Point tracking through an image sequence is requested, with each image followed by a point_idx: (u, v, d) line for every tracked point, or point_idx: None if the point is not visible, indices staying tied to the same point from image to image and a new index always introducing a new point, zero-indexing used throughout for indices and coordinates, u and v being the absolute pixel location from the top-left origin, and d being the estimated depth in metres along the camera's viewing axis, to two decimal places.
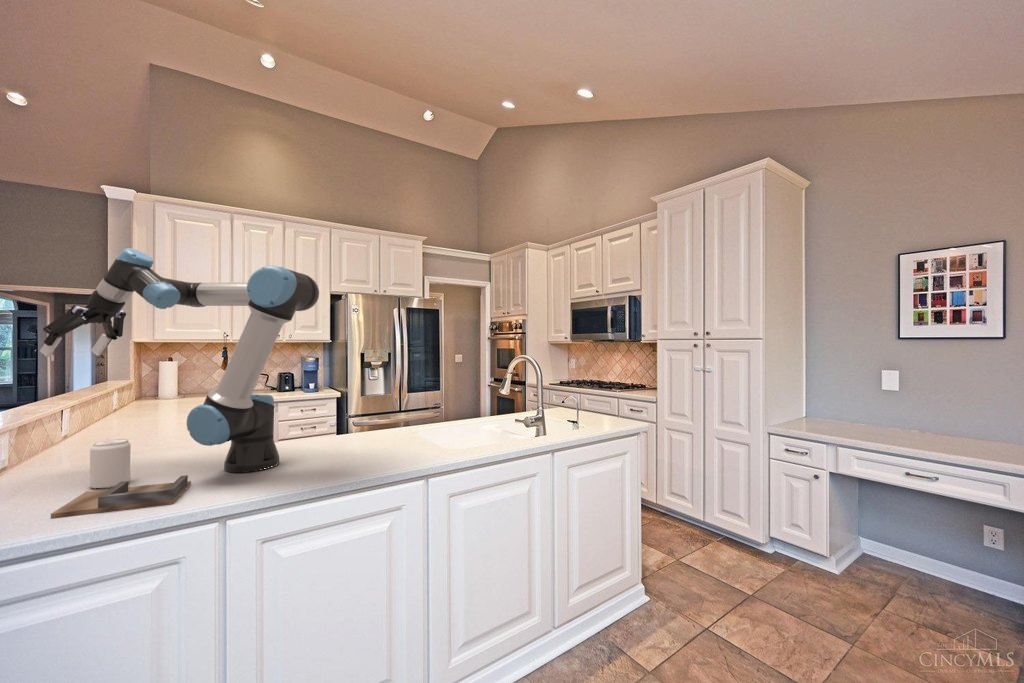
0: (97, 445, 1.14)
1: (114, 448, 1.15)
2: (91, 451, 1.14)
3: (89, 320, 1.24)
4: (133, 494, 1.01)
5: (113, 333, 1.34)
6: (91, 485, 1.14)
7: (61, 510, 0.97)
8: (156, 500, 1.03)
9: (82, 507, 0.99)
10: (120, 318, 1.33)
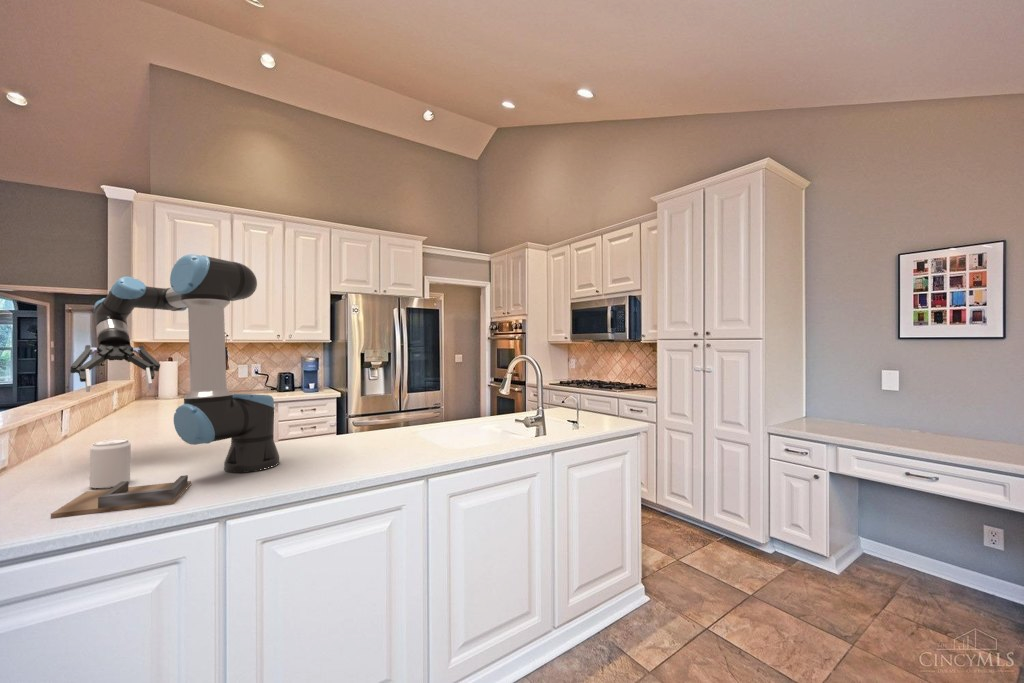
0: (97, 445, 1.14)
1: (114, 448, 1.15)
2: (91, 451, 1.14)
3: (103, 351, 1.31)
4: (133, 494, 1.01)
5: (147, 363, 1.36)
6: (91, 485, 1.14)
7: (61, 510, 0.97)
8: (156, 500, 1.03)
9: (82, 507, 0.99)
10: (140, 350, 1.38)
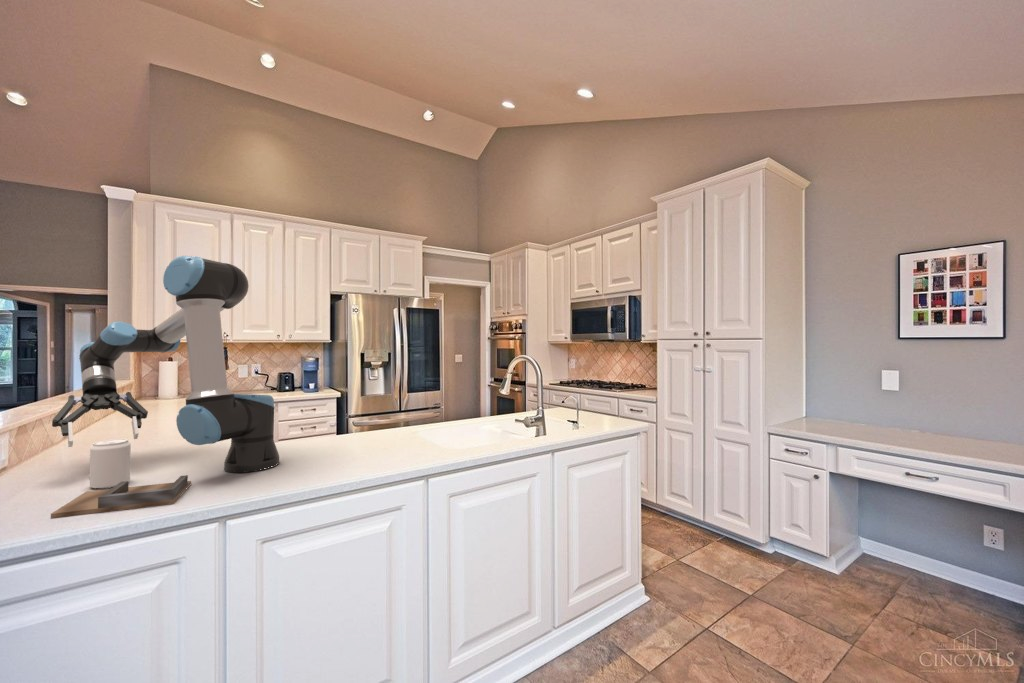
0: (97, 445, 1.14)
1: (114, 448, 1.15)
2: (91, 451, 1.14)
3: (87, 401, 1.25)
4: (133, 494, 1.01)
5: (134, 411, 1.31)
6: (91, 485, 1.14)
7: (61, 510, 0.97)
8: (156, 500, 1.03)
9: (82, 507, 0.99)
10: (127, 397, 1.33)
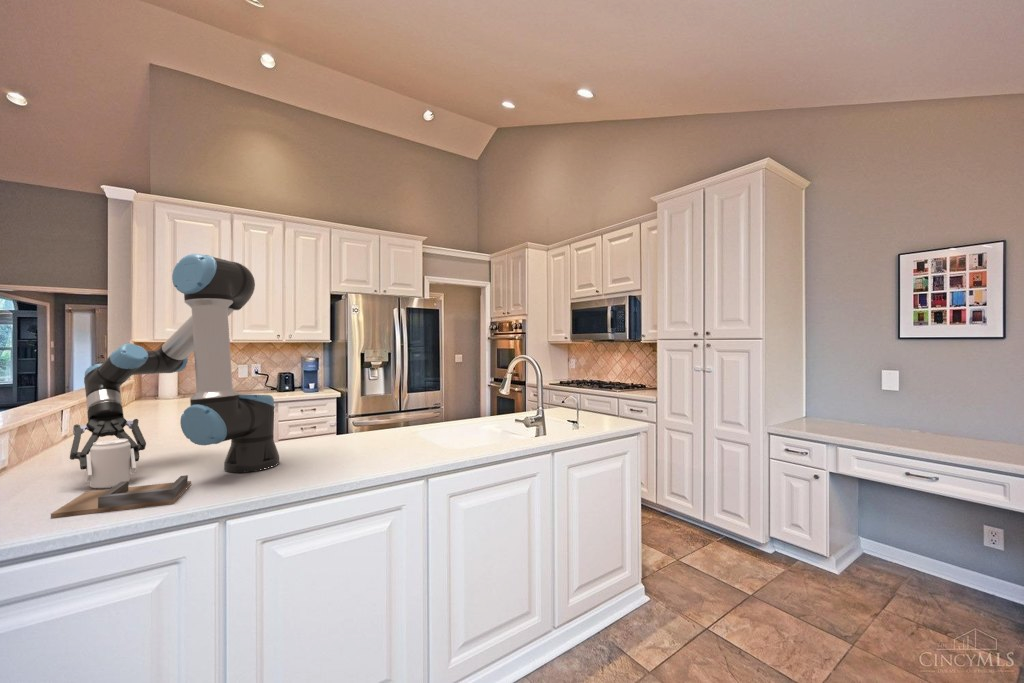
0: (97, 445, 1.14)
1: (114, 448, 1.15)
2: (91, 451, 1.14)
3: (96, 429, 1.20)
4: (133, 494, 1.01)
5: (133, 442, 1.23)
6: (91, 485, 1.14)
7: (61, 510, 0.97)
8: (156, 500, 1.03)
9: (82, 507, 0.99)
10: (133, 424, 1.26)
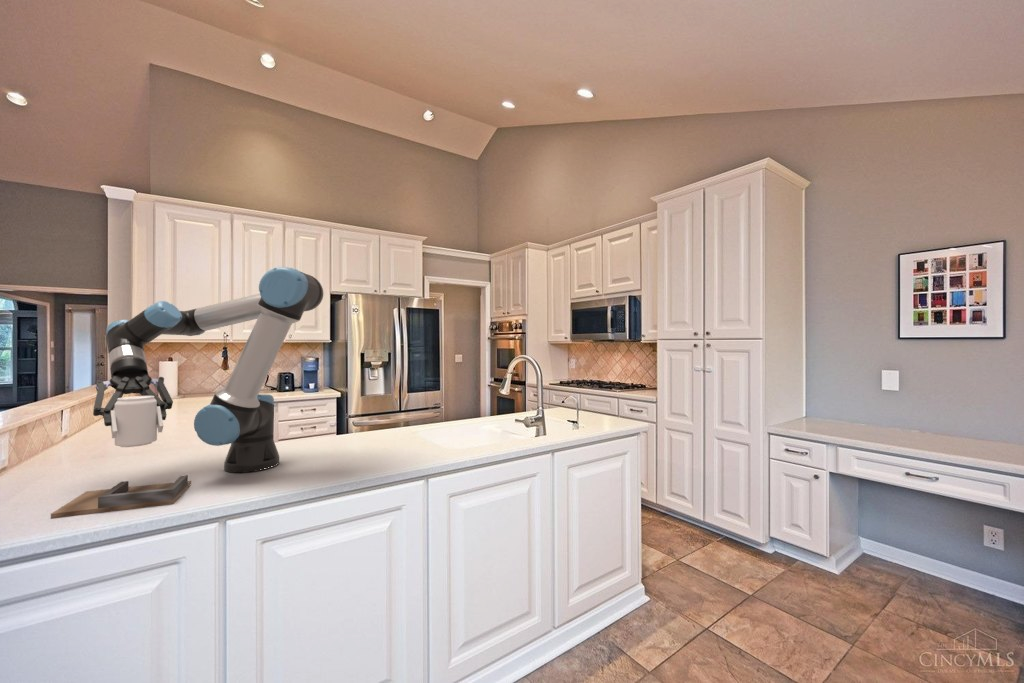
0: (122, 400, 1.06)
1: (140, 404, 1.07)
2: (115, 406, 1.06)
3: (120, 385, 1.11)
4: (133, 494, 1.01)
5: (159, 400, 1.14)
6: (116, 443, 1.05)
7: (61, 510, 0.97)
8: (156, 500, 1.03)
9: (82, 507, 0.99)
10: (158, 382, 1.17)
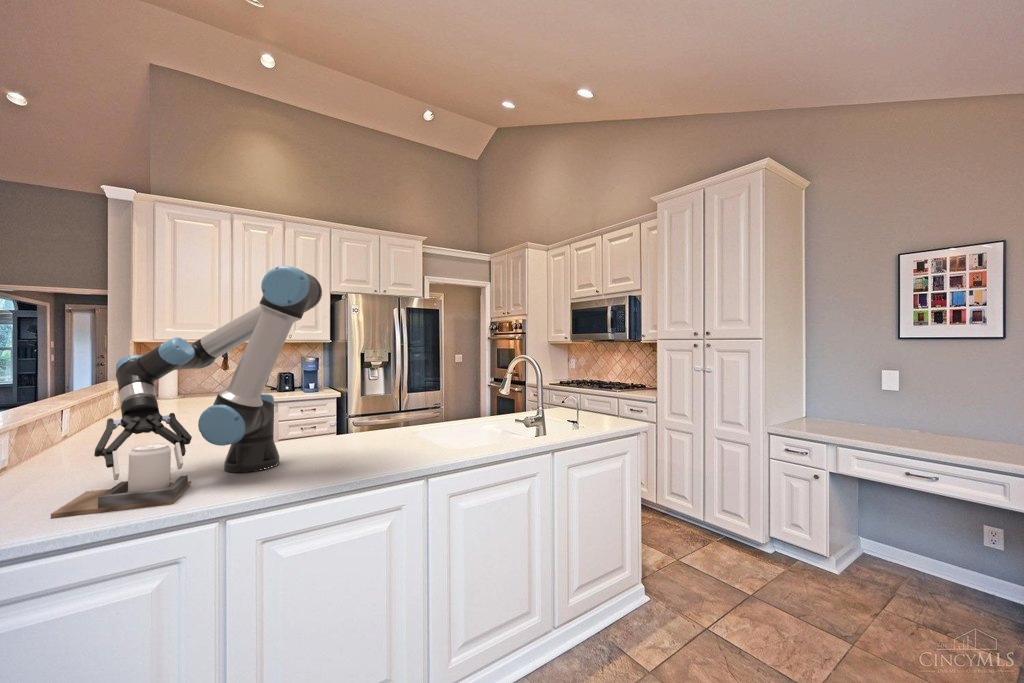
0: (137, 450, 1.04)
1: (155, 454, 1.06)
2: (130, 457, 1.04)
3: (129, 425, 1.09)
4: (133, 494, 1.01)
5: (177, 436, 1.14)
6: None
7: (61, 510, 0.97)
8: (156, 500, 1.03)
9: (82, 507, 0.99)
10: (171, 419, 1.17)
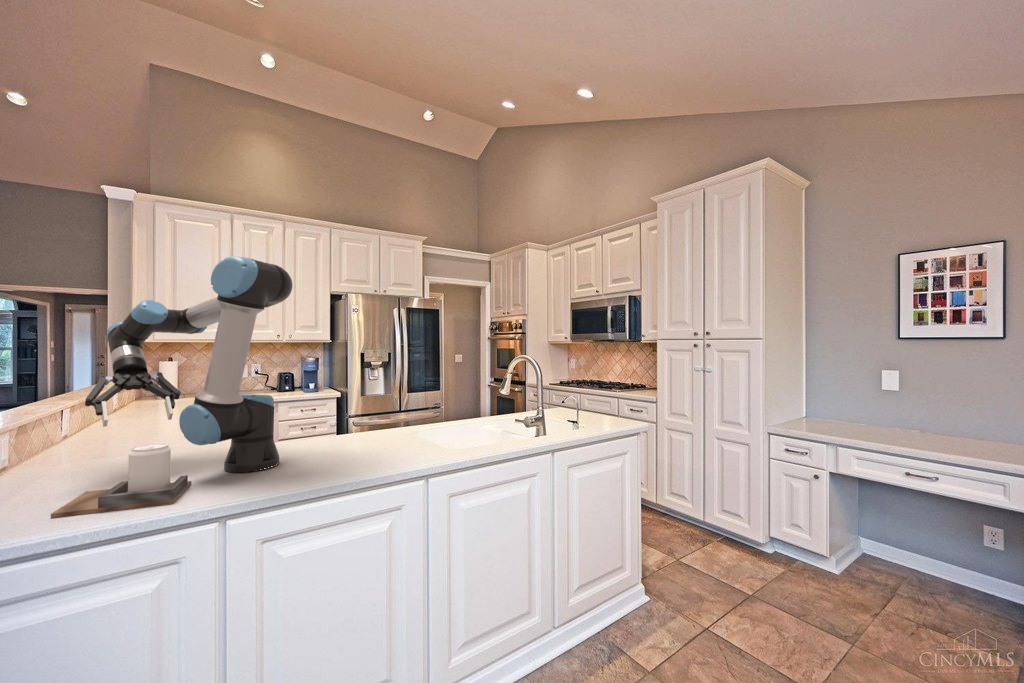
0: (136, 450, 1.04)
1: (154, 454, 1.06)
2: (130, 457, 1.04)
3: (120, 380, 1.20)
4: (133, 494, 1.01)
5: (166, 391, 1.26)
6: None
7: (61, 510, 0.97)
8: (156, 500, 1.03)
9: (82, 507, 0.99)
10: (159, 377, 1.28)
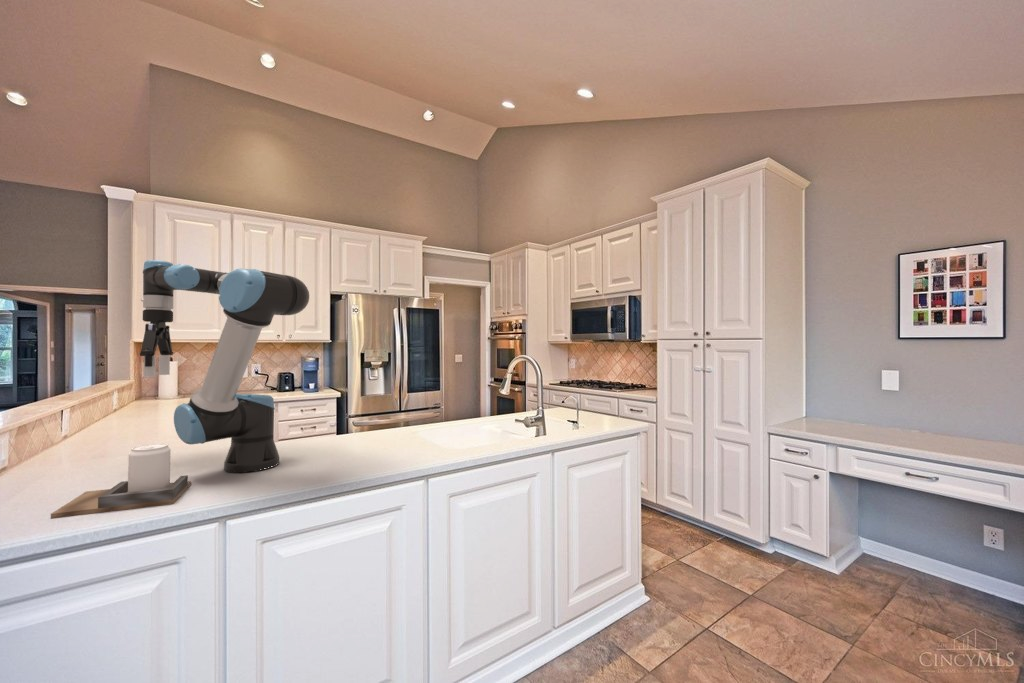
0: (136, 450, 1.04)
1: (154, 454, 1.06)
2: (130, 457, 1.04)
3: (161, 334, 1.35)
4: (133, 494, 1.01)
5: (169, 349, 1.43)
6: None
7: (61, 510, 0.97)
8: (156, 500, 1.03)
9: (82, 507, 0.99)
10: (168, 331, 1.42)
